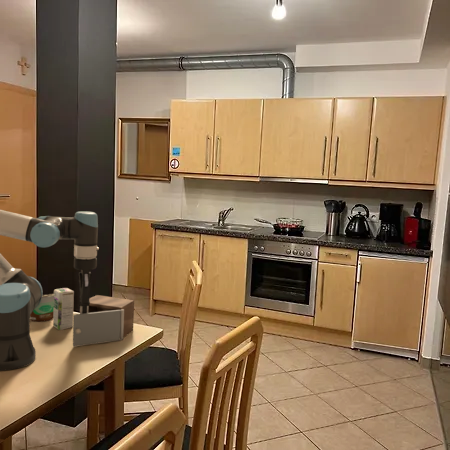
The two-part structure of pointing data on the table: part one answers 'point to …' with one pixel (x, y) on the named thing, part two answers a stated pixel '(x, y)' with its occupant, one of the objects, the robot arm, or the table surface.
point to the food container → (44, 309)
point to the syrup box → (63, 308)
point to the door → (98, 327)
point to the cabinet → (112, 303)
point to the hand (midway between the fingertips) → (83, 322)
